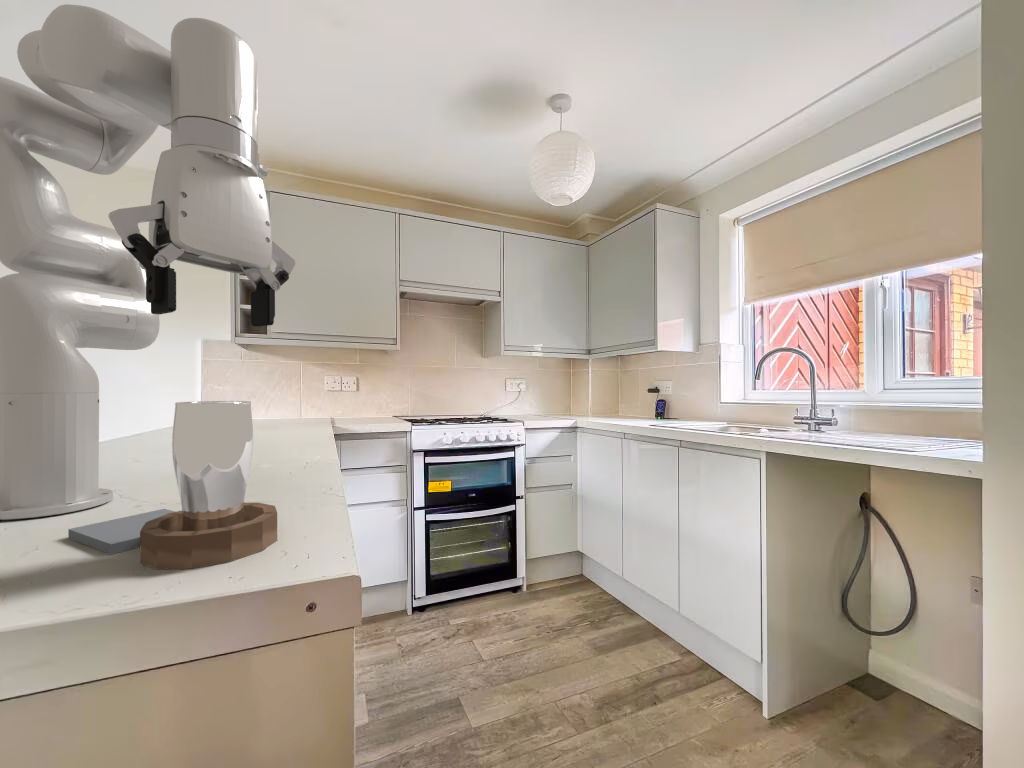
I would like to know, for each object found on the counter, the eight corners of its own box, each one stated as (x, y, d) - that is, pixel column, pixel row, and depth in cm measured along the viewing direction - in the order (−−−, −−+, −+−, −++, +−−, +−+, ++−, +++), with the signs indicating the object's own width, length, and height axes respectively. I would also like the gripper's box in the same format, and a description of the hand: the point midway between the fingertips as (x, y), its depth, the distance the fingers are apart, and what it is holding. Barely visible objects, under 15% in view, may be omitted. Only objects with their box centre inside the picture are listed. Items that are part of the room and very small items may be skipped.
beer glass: (212, 562, 42) (213, 403, 42) (152, 556, 43) (153, 402, 43) (267, 537, 48) (268, 401, 48) (214, 533, 50) (215, 400, 50)
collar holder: (118, 554, 43) (119, 524, 43) (236, 522, 53) (236, 498, 53) (181, 578, 38) (181, 543, 38) (299, 538, 48) (299, 510, 48)
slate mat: (68, 538, 48) (68, 529, 48) (164, 516, 56) (164, 508, 56) (111, 554, 43) (111, 544, 43) (209, 528, 51) (209, 519, 51)
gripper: (272, 195, 55) (272, 331, 55) (92, 122, 40) (92, 310, 40) (312, 182, 52) (313, 327, 52) (132, 96, 36) (133, 302, 36)
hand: (217, 319), depth 46 cm, fingers open, 9 cm apart
